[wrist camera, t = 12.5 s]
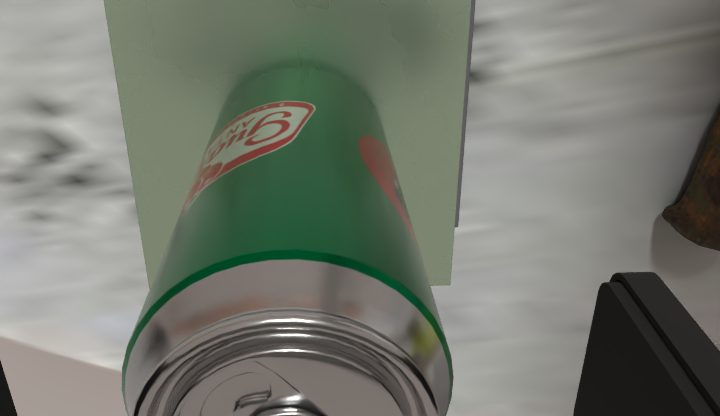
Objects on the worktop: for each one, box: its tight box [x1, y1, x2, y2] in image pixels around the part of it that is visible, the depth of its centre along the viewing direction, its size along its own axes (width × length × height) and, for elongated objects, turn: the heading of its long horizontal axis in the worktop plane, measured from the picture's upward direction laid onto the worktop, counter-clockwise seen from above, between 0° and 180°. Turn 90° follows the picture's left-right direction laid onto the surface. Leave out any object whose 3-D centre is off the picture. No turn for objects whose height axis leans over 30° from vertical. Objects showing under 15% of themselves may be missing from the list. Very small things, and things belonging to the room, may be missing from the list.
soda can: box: [122, 67, 453, 416], centre depth 15 cm, size 5×5×12 cm
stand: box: [104, 0, 475, 289], centre depth 24 cm, size 14×14×10 cm
